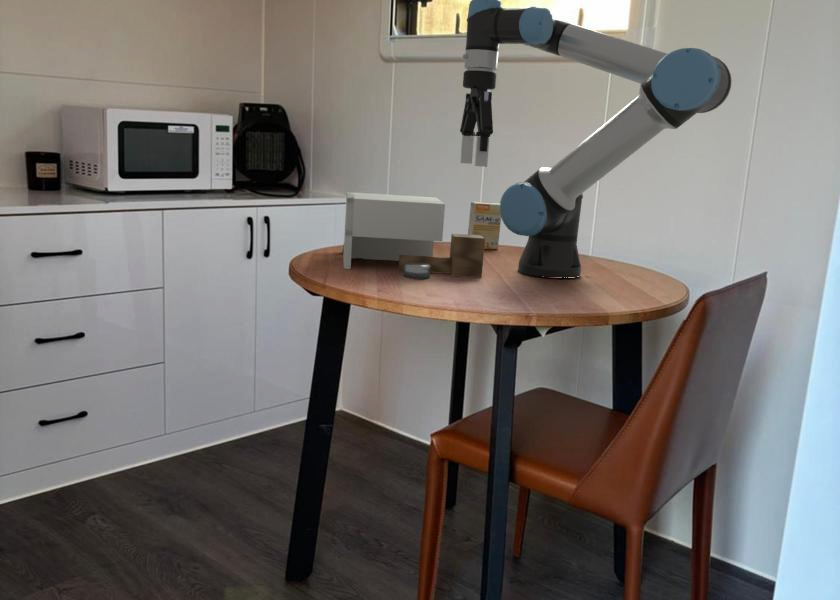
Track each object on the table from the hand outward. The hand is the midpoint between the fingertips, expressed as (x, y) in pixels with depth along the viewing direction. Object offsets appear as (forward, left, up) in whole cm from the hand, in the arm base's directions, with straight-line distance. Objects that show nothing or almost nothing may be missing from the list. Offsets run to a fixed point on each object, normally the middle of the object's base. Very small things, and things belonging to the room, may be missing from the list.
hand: (473, 165), depth 186 cm
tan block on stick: (+7, +7, -25) cm, 27 cm away
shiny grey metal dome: (+13, +13, -25) cm, 31 cm away
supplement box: (-11, -36, -25) cm, 45 cm away
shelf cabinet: (+18, 0, -25) cm, 31 cm away
